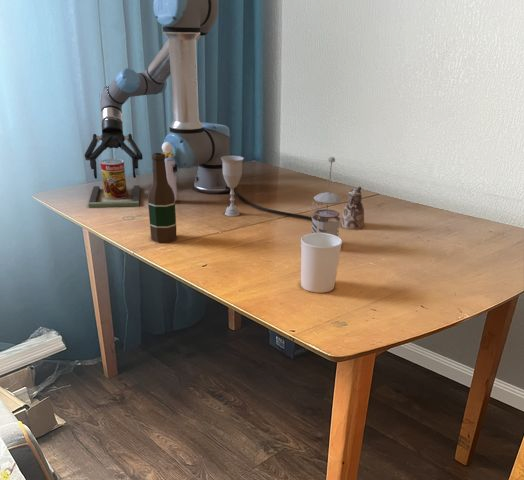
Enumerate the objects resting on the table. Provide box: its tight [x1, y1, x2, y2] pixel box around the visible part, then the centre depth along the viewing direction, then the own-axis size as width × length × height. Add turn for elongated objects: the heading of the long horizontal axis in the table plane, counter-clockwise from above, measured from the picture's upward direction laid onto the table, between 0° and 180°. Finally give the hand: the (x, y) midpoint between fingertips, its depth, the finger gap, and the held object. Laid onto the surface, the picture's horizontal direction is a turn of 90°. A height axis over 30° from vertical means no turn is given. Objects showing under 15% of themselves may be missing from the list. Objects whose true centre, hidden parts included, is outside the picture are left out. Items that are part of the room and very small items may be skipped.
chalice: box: [221, 155, 244, 217], centre depth 178 cm, size 7×7×18 cm
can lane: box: [88, 184, 141, 208], centre depth 194 cm, size 22×16×1 cm
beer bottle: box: [147, 152, 177, 244], centre depth 155 cm, size 8×8×24 cm
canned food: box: [99, 158, 128, 200], centre depth 193 cm, size 8×8×12 cm
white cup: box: [300, 232, 343, 294], centre depth 133 cm, size 10×10×12 cm
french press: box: [310, 156, 343, 237], centre depth 154 cm, size 10×12×25 cm
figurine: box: [340, 186, 365, 230], centre depth 173 cm, size 7×7×12 cm
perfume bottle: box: [161, 141, 178, 202], centre depth 187 cm, size 6×6×20 cm
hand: (115, 176), depth 197 cm, fingers open, 13 cm apart
